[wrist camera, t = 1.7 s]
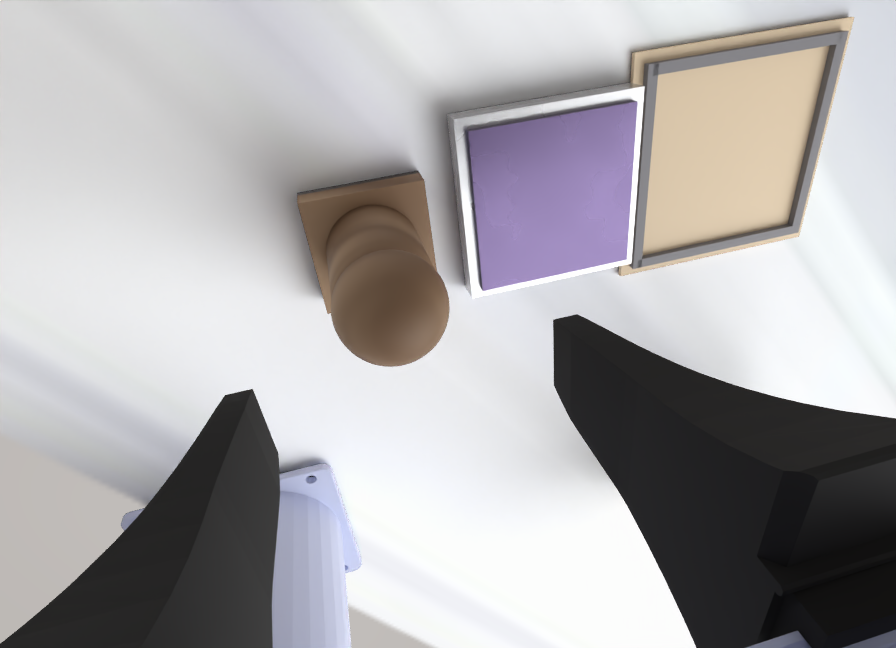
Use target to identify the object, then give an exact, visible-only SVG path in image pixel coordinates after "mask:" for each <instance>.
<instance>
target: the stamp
mask: <svg viewBox="0 0 896 648" xmlns="http://www.w3.org/2000/svg"><path fill="white" fill-rule="evenodd" d="M297 204H298V208H299V211H300V215H301V219H302V222H303V226H304V230H305V233H306V237H307V240H308V244H309V248H310V251H311V255H312V259H313V262H314V266H315V270H316V273H317V277H318V281H319V284H320V288H321V291H322V295H323V299H324V302H325V306H326V310H327V313H328V314H329V313H331V316H332V321H333V325H334V328H335V331H336V332H337V334H338V336H339V338H340V340H341V341H342V343H343V344H344V345H345V346H346V347H347V348H348V349H349V350H350V351H351V352H352V353H353V354H354V355H356V356H357V357H359V358H361V359H362V360H364V361H366V362H369V363H371V364H375V365H380V366H401V365H406V364H409V363H412V362H414V361H416V360H418V359H420V358H422V357H423V356H425V355H426V354H427V353H428V352H430V351H431V350H432V349H433V348H434V347H435V346H436V344H437V343H438V342H439V340H440V339H441V337H442V335H443V333H444V331H445V328H446V326H447V322H448V317H449V298H448V293H447V290H446V287H445V285H444V282H443V280H442V278H441V277H440V275H439V274H438V272H437V269H436V262H435V255H434V248H433V240H432V233H431V226H430V219H429V212H428V205H427V198H426V191H425V183H424V179H423V178H422V176H421V175H420V173H419V172H418V171H414V172H408V173H403V174H398V175H392V176H387V177H381V178H376V179H371V180H365V181H360V182H354V183H349V184H344V185H338V186H333V187H327V188H322V189H317V190H311V191H306V192H300V193H297Z"/></svg>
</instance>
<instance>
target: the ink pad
mask: <svg viewBox="0 0 896 648" xmlns="http://www.w3.org/2000/svg"><path fill="white" fill-rule="evenodd" d="M644 88H645V86H642V85H638V84H634V83H624V84H618V85H613V86H607V87H601V88H595V89H589V90H584V91H578V92H572V93H566V94H560V95H554V96H549V97H543V98H537V99H531V100H525V101H520V102H514V103H508V104H502V105H496V106H490V107H485V108H479V109H473V110H467V111H461V112H456V113H450V114H447V121H448V130H449V139H450V148H451V157H452V166H453V175H454V184H455V193H456V203H457V212H458V221H459V230H460V239H461V248H462V257H463V266H464V275H465V284H466V289H467V290H468V292H469V294H470V296H471V297H472V298H477V297H481V296H486V295H491V294H495V293H500V292H504V291H509V290H513V289H518V288H522V287H527V286H531V285H536V284H541V283H545V282H550V281H554V280H559V279H563V278H568V277H572V276H577V275H581V274H586V273H590V272H595V271H600V270H604V269H609V268H613V267H618V266H622V265H627V264H631V262H632V248H633V235H634V222H635V208H636V195H637V182H638V168H639V155H640V142H641V128H642V115H643V102H644Z"/></svg>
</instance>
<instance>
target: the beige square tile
mask: <svg viewBox="0 0 896 648" xmlns="http://www.w3.org/2000/svg"><path fill="white" fill-rule="evenodd" d="M853 20H854V17H846V18H840V19H834V20H828V21H821V22H815V23H809V24H803V25H797V26H791V27H785V28H779V29H773V30H767V31H761V32H754V33H748V34H742V35H736V36H730V37H724V38H718V39H712V40H706V41H700V42H693V43H687V44H681V45H675V46H669V47H663V48H657V49H651V50H645V51H639V52H633V53H632V63H631V79H630V83H634V84H638V85H642V86H645V88H644V102H643V115H642V128H641V142H640V155H639V168H638V182H637V195H636V208H635V222H634V235H633V248H632V262H631V264H627V265H622V266H619V275H620V276H624V275H628V274H633V273H637V272H642V271H646V270H651V269H655V268H660V267H664V266H669V265H673V264H678V263H682V262H687V261H691V260H696V259H700V258H705V257H709V256H714V255H718V254H723V253H727V252H731V251H736V250H740V249H745V248H749V247H754V246H758V245H763V244H767V243H772V242H776V241H781V240H785V239H790V238H794V237H799V234H800V230H801V227H802V223H803V219H804V215H805V211H806V207H807V203H808V199H809V195H810V191H811V187H812V183H813V179H814V175H815V171H816V167H817V163H818V159H819V155H820V151H821V147H822V143H823V139H824V135H825V131H826V127H827V123H828V119H829V115H830V111H831V107H832V103H833V99H834V95H835V91H836V88H837V84H838V80H839V76H840V72H841V68H842V64H843V60H844V56H845V52H846V48H847V44H848V40H849V36H850V32H851V28H852V24H853Z"/></svg>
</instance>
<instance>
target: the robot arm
mask: <svg viewBox="0 0 896 648" xmlns="http://www.w3.org/2000/svg"><path fill="white" fill-rule="evenodd" d="M553 330H554V386H555V388H556V391H557V393H558V395H559V397H560V399H561V401H562V403H563V405H564V407H565V409H566V411H567V413H568V415H569V417H570V419H571V421H572V422H573V424H574V425H575V427H576V428H577V430H578V431H579V433H580V434H581V436H582V437H583V439H584V440H585V442H586V443H587V445H588V446H589V448H590V449H591V451H592V452H593V454H594V455H595V457H596V458H597V460H598V461H599V463H600V464H601V466H602V467H603V469H604V470H605V472H606V473H607V475H608V476H609V478H610V479H611V481H612V482H613V483H614V485H615V486H616V488H617V489H618V491H619V493H620V494H621V496H622V498H623V499H624V501H625V503H626V504H627V506H628V508H629V510H630V512H631V514H632V515H633V517H634V519H635V521H636V523H637V525H638V527H639V529H640V531H641V532H642V534H643V536H644V538H645V540H646V542H647V544H648V546H649V548H650V550H651V552H652V554H653V556H654V558H655V560H656V562H657V564H658V566H659V568H660V570H661V572H662V574H663V576H664V578H665V580H666V582H667V584H668V586H669V589H670V591H671V593H672V595H673V597H674V599H675V601H676V603H677V606H678V608H679V610H680V612H681V614H682V616H683V618H684V620H685V623H686V625H687V627H688V629H689V632H690V634H691V636H692V638H693V641H694V643H695V645H696V648H896V419H895V418H888V417H881V416H874V415H867V414H860V413H853V412H846V411H840V410H834V409H829V408H824V407H819V406H814V405H809V404H804V403H799V402H795V401H791V400H787V399H782V398H778V397H774V396H771V395H767V394H763V393H760V392H756V391H752V390H749V389H745V388H742V387H739V386H736V385H732V384H729V383H726V382H724V381H721V380H718V379H715V378H712V377H709V376H707V375H704V374H701V373H698V372H696V371H693V370H691V369H688V368H686V367H683V366H681V365H679V364H677V363H674V362H672V361H670V360H667V359H665V358H663V357H661V356H658V355H656V354H654V353H652V352H650V351H648V350H646V349H644V348H642V347H640V346H638V345H636V344H634V343H632V342H630V341H628V340H626V339H624V338H622V337H620V336H618V335H616V334H614V333H613V332H611V331H609V330H607V329H605V328H603V327H601V326H599V325H597V324H595V323H594V322H592V321H590V320H588V319H586V318H584V317H581V316H579V315H572V316H568V317H564V318H559V319H555V320H553ZM312 475H313V476H314V477H308V476H312ZM121 526H122V528H123V529H124V532H123V533H122V534H121V535H120V537H119V538H118V539H117V540H116V541H115V542H114V543H113V544H112V545H111V546H110V547H109V548H108V549H107V550H106V551H105V552H104V553H103V554H102V555H101V556H100V557H99V558H98V559H97V560H96V561H95V562H94V563H92V564H91V565H90V566H89V567H88V568H87V569H86V570H85V571H84V572H83V573H82V574H81V575H80V576H79V577H78V578H77V579H76V580H75V581H74V582H73V583H72V584H71V585H70V586H68V587H67V588H66V589H65V590H64V591H63V592H62V593H61V594H59V595H58V596H57V597H56V598H55V599H54V600H53V601H52V602H50V603H49V604H48V605H47V606H46V607H45V608H43V609H42V610H41V611H40V612H39V613H37V614H36V615H35V616H34V617H33V618H32V619H30V620H29V621H28V622H27V623H26V624H25V625H23V626H22V627H21V628H19V629H18V630H17V631H16V632H14V633H13V634H12V635H11V636H10V637H8V638H7V639H6V640H5V641H3V642H2V643H1V644H0V648H351V639H350V625H349V613H348V601H347V588H346V576H345V573H348V572H351V571H355V570H357V569H359V568H360V567H361V565H362V560H361V556H360V552H359V549H358V546H357V543H356V540H355V537H354V534H353V531H352V528H351V525H350V522H349V519H348V516H347V513H346V510H345V507H344V504H343V501H342V498H341V495H340V492H339V489H338V486H337V482H336V479H335V476H334V473H333V470H332V468H331V467H330V466H329V465H327V464H317V465H313V466H309V467H306V468H302V469H298V470H294V471H290V472H286V473H282V474H279V458H278V452H277V449H276V447H275V444H274V442H273V439H272V437H271V434H270V432H269V429H268V427H267V424H266V422H265V419H264V417H263V414H262V412H261V409H260V406H259V404H258V401H257V399H256V396H255V394H254V391H253V389H251V390H246V391H242V392H237V393H233V394H229V395H225V396H224V398H223V399H222V401H221V402H220V404H219V405H218V406H217V408H216V409H215V411H214V413H213V414H212V416H211V417H210V419H209V420H208V422H207V423H206V425H205V426H204V428H203V429H202V431H201V432H200V434H199V436H198V437H197V439H196V440H195V442H194V443H193V444H192V446H191V447H190V449H189V450H188V452H187V453H186V455H185V456H184V458H183V459H182V460H181V462H180V463H179V465H178V466H177V468H176V469H175V470H174V472H173V473H172V474H171V475H170V477H169V478H168V479H167V481H166V482H165V483H164V485H163V486H162V487H161V489H160V490H159V491H158V493H157V494H156V495H155V496H154V498H153V499H152V500H151V501H150V503H149V504H148V505H147V506H146V507H145V508H143V509H139V510H135V511H132V512H129V513H126V514H125V515H124V516H123V519H122V523H121Z"/></svg>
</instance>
